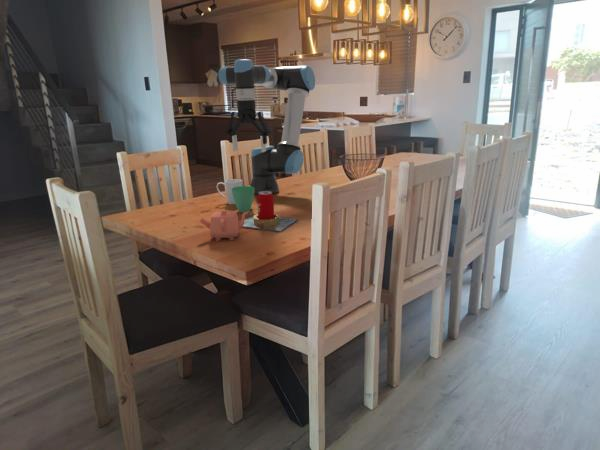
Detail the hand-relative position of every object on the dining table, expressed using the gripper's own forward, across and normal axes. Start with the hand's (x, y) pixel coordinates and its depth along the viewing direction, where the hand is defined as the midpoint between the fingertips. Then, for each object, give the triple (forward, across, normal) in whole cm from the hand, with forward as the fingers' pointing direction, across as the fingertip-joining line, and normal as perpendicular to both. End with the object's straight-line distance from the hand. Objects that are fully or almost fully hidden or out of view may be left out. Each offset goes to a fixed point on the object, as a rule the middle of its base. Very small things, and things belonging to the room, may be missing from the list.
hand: (249, 151), depth 187 cm
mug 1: (+26, -16, +7) cm, 31 cm away
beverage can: (+25, +16, -18) cm, 34 cm away
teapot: (+25, +9, -38) cm, 46 cm away
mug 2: (+26, -3, -2) cm, 26 cm away
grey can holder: (+25, +16, -18) cm, 35 cm away
